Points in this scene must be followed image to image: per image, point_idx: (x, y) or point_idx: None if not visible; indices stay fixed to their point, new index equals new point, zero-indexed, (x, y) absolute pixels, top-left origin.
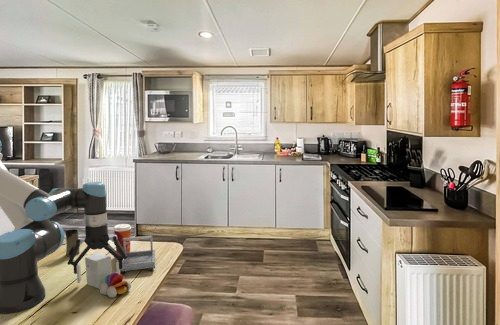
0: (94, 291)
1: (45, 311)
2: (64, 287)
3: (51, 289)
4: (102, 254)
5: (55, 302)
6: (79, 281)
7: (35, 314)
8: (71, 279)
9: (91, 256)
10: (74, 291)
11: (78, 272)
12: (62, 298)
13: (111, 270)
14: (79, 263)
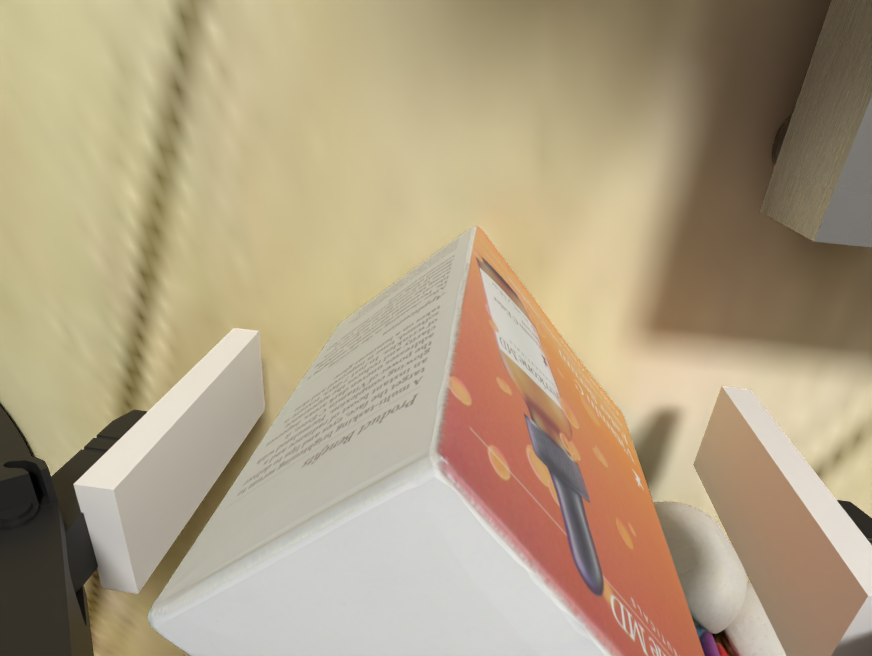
0: None
1: (150, 632)
2: (119, 317)
3: (4, 315)
4: (568, 628)
5: None
6: (255, 419)
7: (103, 639)
8: (107, 107)
9: (287, 643)
10: (254, 438)
11: (191, 501)
12: (193, 518)
13: (661, 536)
14: (105, 505)
